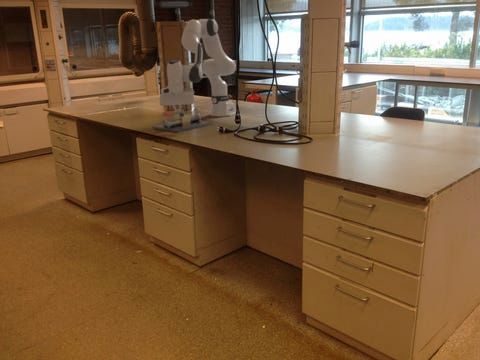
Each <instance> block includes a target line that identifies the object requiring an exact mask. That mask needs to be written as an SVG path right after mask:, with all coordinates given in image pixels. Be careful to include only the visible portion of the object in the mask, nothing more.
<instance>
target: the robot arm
mask: <svg viewBox="0 0 480 360" xmlns="http://www.w3.org/2000/svg"><path fill="white" fill-rule="evenodd" d="M218 31H219V23H218V22H217V21H216V19H213V18H200V19H190V20H188V21H187V22H186V23H185V25H184V29H183V32H182V36H181V40H180V41H181V46H183V48H184V49H185V50H186V51H188V52H190V53H193V54H194V63H193V64H182V63H181V60H179V59H171V60H169V61H168V62H167V65H166V70H167V71H166V76H167V81H168V82H167V86H165V87H162V88H161V89H160V95H159V105H160V106H161V107H165V106H167V107H168V106H172V107H173V109H174V111H175V113H180V109H182V107H183V106H182V105H194V104H195V99H194V98H195V97H194V95H195V90H194V89H193V88H190V87H187V88H185V87H184V83H185V82H187V83H189V82H191V83H200V82H201V81H202V80H203V77H204V75H206V77H207V78H208V80H209V83H210V86H211V97H210V98H211V99H210V100H211V103H210V104H211V106H210V113H209V114H210V116H211V117H231V116H234V115H237V114H236V111H237V107H236V105H235V103H233V102H232V101H231V100H230V99H231V98H232V95H231V94H228V84H227V82H226V81H225V80H223V79H222V78H221V76H229V75H233V74H235V72H236V69H237V65H236V62H235V61H234V60H233V59H231V58H230V57H229V56H228V55H227V54H226V53H225V51H224V49H223V46H222V43H221V40H220V36H219V34H218V33H219V32H218ZM201 39H202V43H201ZM204 50H205V52H206V55H207V56H208V57H210V58H208V59H204ZM176 106H178V107H179V108H178V109H177V108H176Z"/></svg>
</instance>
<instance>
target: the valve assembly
mask: <svg viewBox="0 0 480 360" xmlns="http://www.w3.org/2000/svg"><path fill="white" fill-rule="evenodd" d="M173 118H174V119H170V120H168V119H164V120H163V121H162V124H158V125H157V124H156V125H154V126H152V130H158V131H165V132H173V133H182V132H185V131H191V130H194V129H198V128H202V127H205V126H206V127H207V126H210V125H213V123H212V121H208V120H207V121H206V120H202V116H201V114H200V113H195V114H193V115H190V114H185V115H179V114H175V115H173Z"/></svg>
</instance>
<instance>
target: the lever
mask: <svg viewBox="0 0 480 360" xmlns="http://www.w3.org/2000/svg"><path fill="white" fill-rule="evenodd" d="M176 115H186V113H185V109H182V108H181V109H180V113H175V110H172V111H171V110H170V111H167V112H166V111H165V112H163V117H172V116H176Z"/></svg>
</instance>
